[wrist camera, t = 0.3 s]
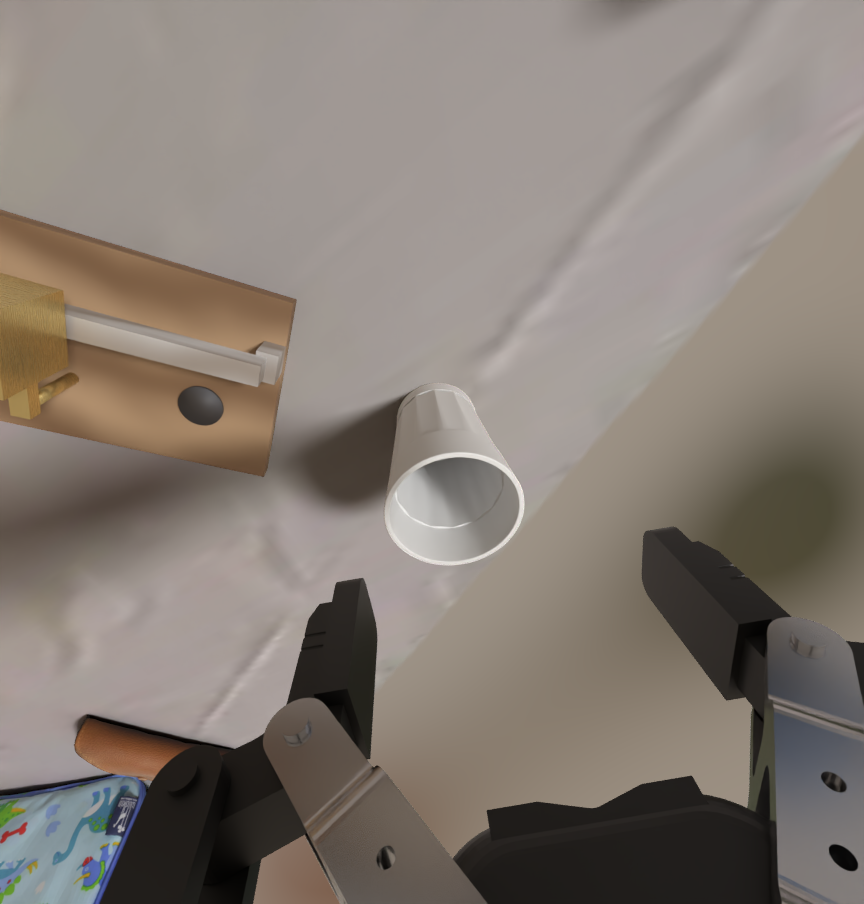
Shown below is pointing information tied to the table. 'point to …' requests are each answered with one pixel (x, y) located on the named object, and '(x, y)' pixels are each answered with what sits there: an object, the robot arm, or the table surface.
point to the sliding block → (31, 344)
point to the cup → (448, 481)
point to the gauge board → (156, 349)
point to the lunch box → (65, 840)
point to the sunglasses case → (127, 749)
